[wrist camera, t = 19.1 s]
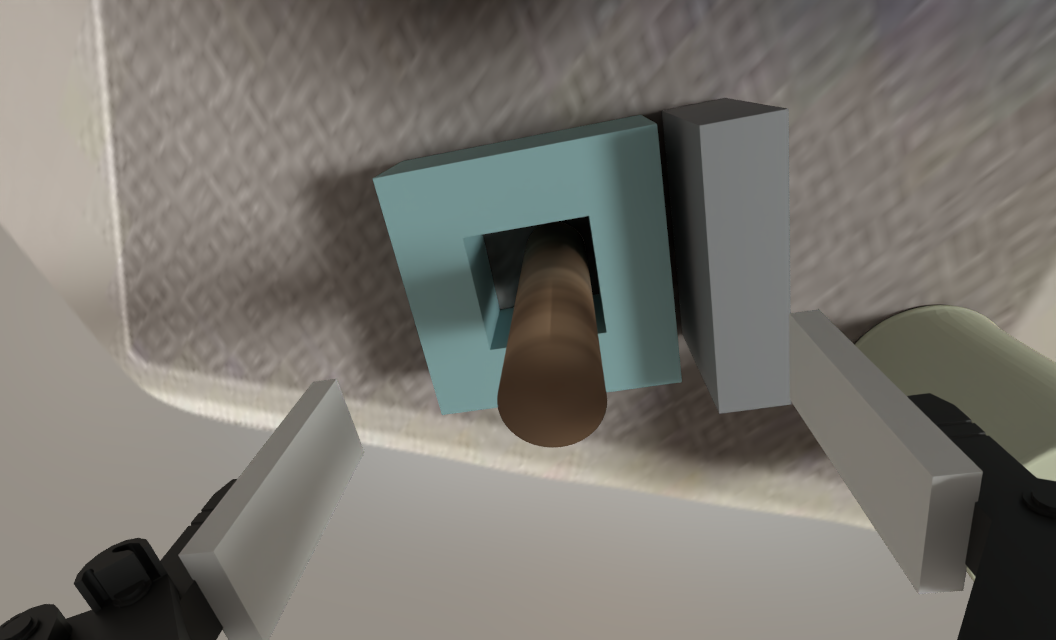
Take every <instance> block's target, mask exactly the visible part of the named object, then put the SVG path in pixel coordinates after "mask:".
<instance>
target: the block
mask: <svg viewBox="0 0 1056 640" xmlns="http://www.w3.org/2000/svg"><path fill="white" fill-rule="evenodd" d="M373 182H374V185H375V189H376V192H377V195H378V199H379V202H380V206H381V209H382V212H383V216H384V219H385V223H386V226H387V229H388V233H389V236H390V240H391V243H392V246H393V250H394V253H395V257H396V260H397V263H398V267H399V270H400V274H401V277H402V280H403V284H404V287H405V291H406V294H407V297H408V301H409V304H410V308H411V311H412V314H413V318H414V321H415V325H416V328H417V331H418V335H419V338H420V342H421V345H422V348H423V352H424V355H425V358H426V362H427V365H428V369H429V372H430V375H431V379H432V382H433V386H434V389H435V392H436V396H437V399H438V403H439V406H440V409H441V413H442V415H445V414H453V413H460V412H467V411H475V410H482V409H489V408H496V407H498V405H497V395H498V388H499V383H500V378H501V373H502V368H503V363H504V357H505V352H506V347H507V342H508V337H509V332H510V326H511V321H512V316H513V311H514V308H508V309H501V310H500V308H499V303H498V299H497V295H496V290H495V286H494V281H493V277H492V273H491V268H490V264H489V259H488V255H487V251H486V246H485V242H484V237H483V234H488V233H494V232H499V231H505V230H511V229H517V228H522V227H528V226H534V225H539V224H545V223H551V222H556V221H562V220H568V219H573V218H579V217H585V216H588V219H589V226H590V233H591V239H592V246H593V252H594V259H595V266H596V272H597V279H598V286H599V292H600V294H596V295H592V296H593V303H594V310H595V317H596V324H597V331H598V338H599V345H600V352H601V359H602V366H603V373H604V380H605V387H606V392H613V391H620V390H628V389H635V388H642V387H649V386H657V385H664V384H671V383H678V382H682V377H681V367H680V357H679V346H678V336H677V326H676V315H675V305H674V295H673V284H672V274H671V264H670V253H669V243H668V232H667V222H666V212H665V201H664V191H663V181H662V170H661V160H660V150H659V139H658V129H657V124H656V123H655V122H653V121H651V120H649V119H647V118H646V117H644V116H642V115H637V116H632V117H627V118H621V119H616V120H611V121H606V122H601V123H596V124H591V125H586V126H580V127H575V128H570V129H565V130H560V131H555V132H550V133H545V134H539V135H534V136H529V137H524V138H519V139H514V140H509V141H504V142H498V143H493V144H488V145H483V146H478V147H473V148H468V149H463V150H457V151H452V152H447V153H442V154H437V155H432V156H427V157H422V158H416V159H411V160H406V161H402V162H400V163H398V164H397V165H395V166H393V167H392V168H390V169H388V170H386V171H385V172H383V173H381V174H380V175H378V176H376V177H374V178H373Z"/></svg>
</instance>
